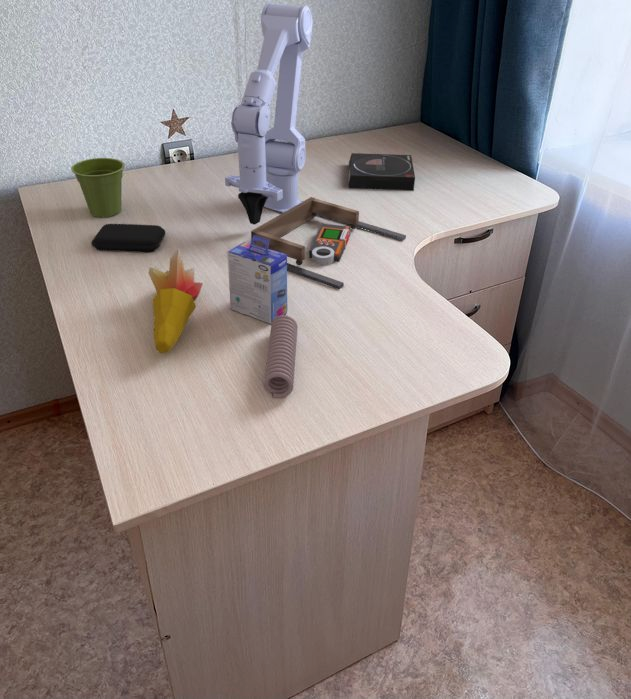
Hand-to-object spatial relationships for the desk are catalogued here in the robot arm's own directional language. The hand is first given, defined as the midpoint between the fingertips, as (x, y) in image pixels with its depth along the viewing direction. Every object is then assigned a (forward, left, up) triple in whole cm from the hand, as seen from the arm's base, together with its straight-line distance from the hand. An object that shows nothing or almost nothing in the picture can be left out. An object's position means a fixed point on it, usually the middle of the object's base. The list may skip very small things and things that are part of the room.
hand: (255, 222), depth 149 cm
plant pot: (-36, -12, -3) cm, 38 cm away
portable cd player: (+6, +46, -3) cm, 47 cm away
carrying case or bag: (-20, -19, -3) cm, 28 cm away
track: (+16, +4, -3) cm, 17 cm away
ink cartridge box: (+21, -25, -3) cm, 33 cm away
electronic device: (+18, +3, -3) cm, 18 cm away
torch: (+10, -37, -3) cm, 39 cm away
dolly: (+11, +4, -2) cm, 12 cm away
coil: (+34, -36, -3) cm, 50 cm away
